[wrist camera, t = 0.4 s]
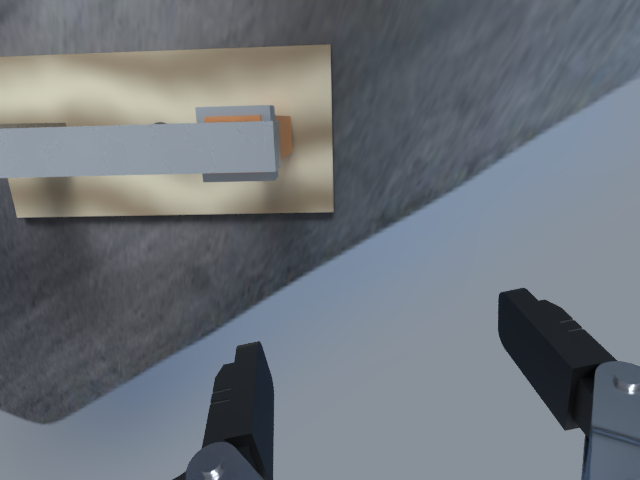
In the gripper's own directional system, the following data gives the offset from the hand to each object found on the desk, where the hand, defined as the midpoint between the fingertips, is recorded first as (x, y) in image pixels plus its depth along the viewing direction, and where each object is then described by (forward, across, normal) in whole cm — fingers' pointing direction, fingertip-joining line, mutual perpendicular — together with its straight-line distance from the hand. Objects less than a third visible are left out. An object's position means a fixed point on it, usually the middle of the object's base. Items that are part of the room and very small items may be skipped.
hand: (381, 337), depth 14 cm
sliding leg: (+26, +3, -2) cm, 26 cm away
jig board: (+28, +13, -3) cm, 31 cm away
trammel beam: (+27, +14, -4) cm, 31 cm away
